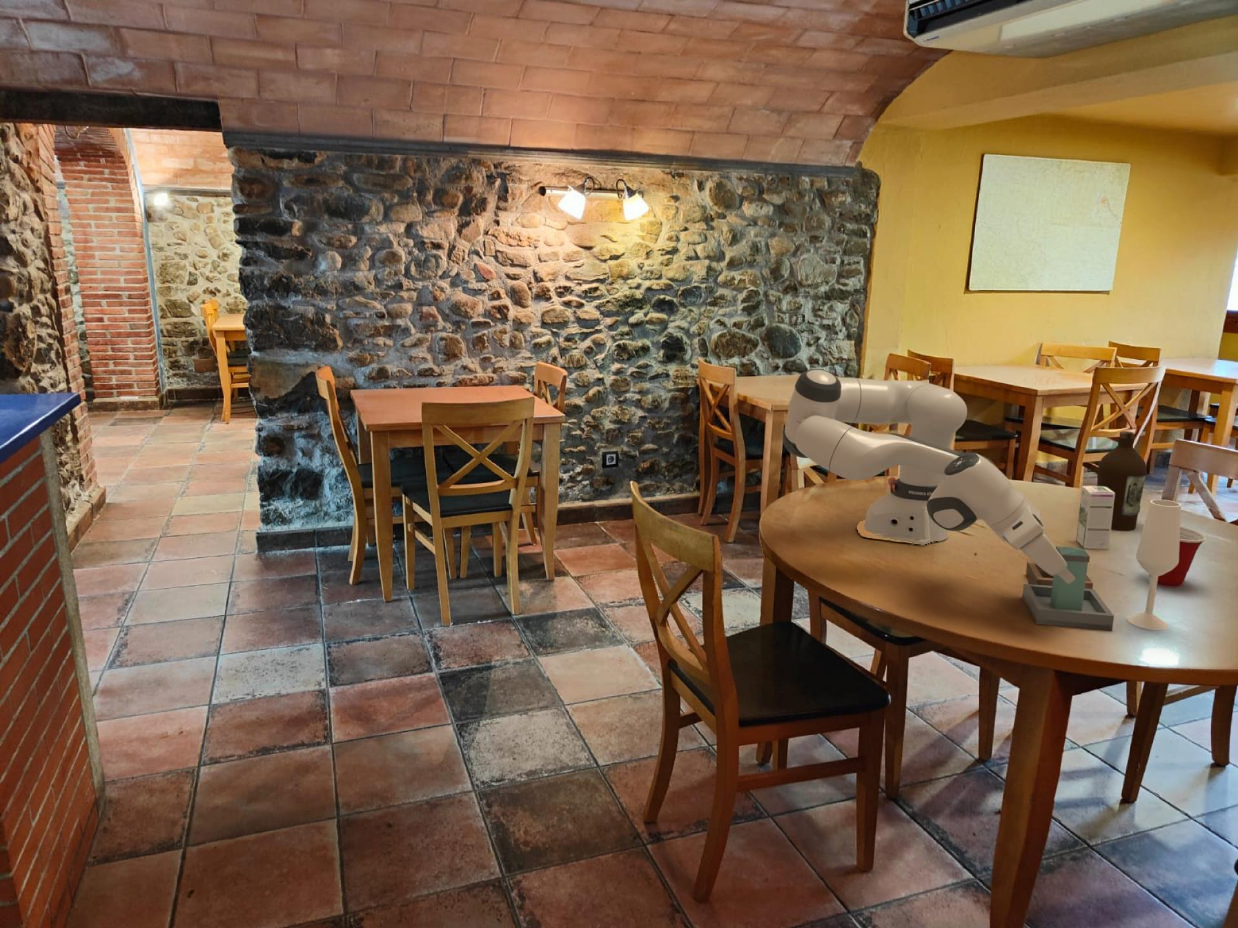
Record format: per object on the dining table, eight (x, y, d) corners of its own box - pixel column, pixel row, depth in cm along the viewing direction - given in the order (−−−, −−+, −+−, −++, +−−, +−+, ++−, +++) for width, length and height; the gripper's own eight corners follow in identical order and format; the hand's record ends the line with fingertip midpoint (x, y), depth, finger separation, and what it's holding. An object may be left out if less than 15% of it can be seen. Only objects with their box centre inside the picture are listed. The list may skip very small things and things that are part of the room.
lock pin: (1055, 612, 155) (1062, 554, 152) (1049, 602, 160) (1055, 546, 157) (1082, 614, 154) (1089, 556, 151) (1075, 604, 158) (1082, 548, 155)
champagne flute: (1122, 613, 156) (1138, 496, 150) (1161, 616, 154) (1179, 499, 149) (1132, 627, 150) (1150, 507, 144) (1173, 631, 148) (1193, 509, 142)
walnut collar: (1036, 592, 167) (1037, 579, 166) (1025, 574, 177) (1027, 561, 176) (1091, 596, 164) (1093, 583, 163) (1077, 578, 174) (1079, 565, 173)
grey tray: (1036, 623, 153) (1037, 609, 152) (1022, 597, 165) (1023, 583, 164) (1112, 630, 149) (1114, 615, 148) (1092, 602, 161) (1094, 589, 160)
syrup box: (1109, 549, 190) (1117, 492, 187) (1082, 548, 191) (1089, 491, 188) (1100, 542, 196) (1107, 485, 192) (1074, 540, 197) (1081, 485, 193)
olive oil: (1082, 522, 210) (1093, 430, 204) (1108, 516, 215) (1120, 426, 209) (1121, 534, 201) (1134, 438, 195) (1147, 527, 205) (1161, 433, 199)
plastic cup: (1200, 596, 163) (1209, 541, 161) (1138, 586, 169) (1146, 532, 166) (1196, 578, 172) (1205, 526, 169) (1137, 569, 178) (1144, 518, 175)
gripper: (992, 514, 166) (1038, 562, 166) (1012, 547, 147) (1064, 601, 147) (1018, 495, 164) (1064, 543, 163) (1041, 526, 145) (1094, 580, 144)
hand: (1064, 571), depth 155 cm, fingers open, 8 cm apart
